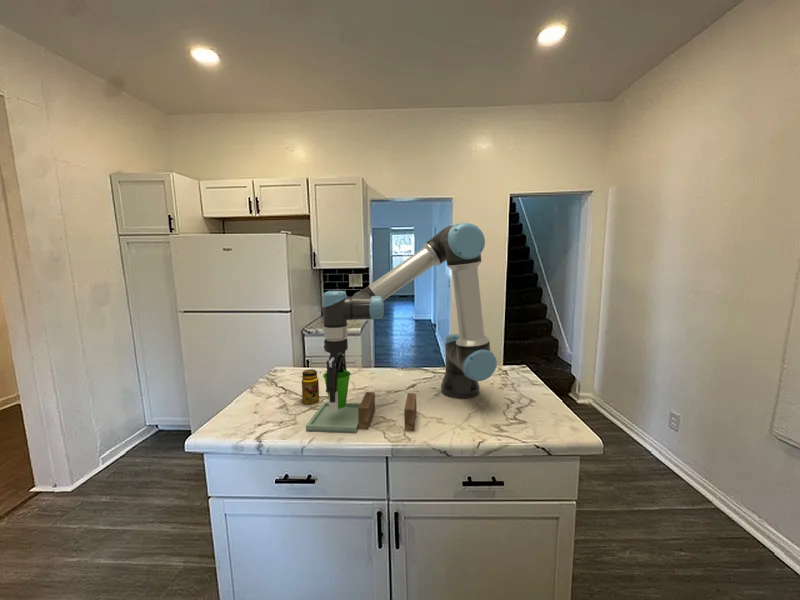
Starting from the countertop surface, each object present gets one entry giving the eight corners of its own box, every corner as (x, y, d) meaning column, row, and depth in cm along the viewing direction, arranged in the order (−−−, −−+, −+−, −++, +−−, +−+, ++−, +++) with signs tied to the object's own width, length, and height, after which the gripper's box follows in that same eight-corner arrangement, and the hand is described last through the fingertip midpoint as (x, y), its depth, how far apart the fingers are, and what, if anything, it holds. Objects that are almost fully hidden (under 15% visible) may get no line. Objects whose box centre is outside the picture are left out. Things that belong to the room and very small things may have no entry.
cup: (346, 412, 113) (345, 379, 111) (319, 410, 115) (318, 377, 113) (355, 401, 122) (354, 370, 120) (330, 399, 123) (329, 369, 122)
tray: (367, 408, 127) (367, 403, 127) (356, 433, 109) (356, 427, 109) (324, 406, 128) (323, 401, 128) (306, 431, 111) (305, 425, 110)
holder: (416, 412, 122) (416, 393, 122) (414, 431, 110) (414, 409, 109) (366, 411, 124) (366, 392, 123) (358, 429, 111) (358, 408, 111)
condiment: (314, 407, 128) (312, 375, 127) (293, 404, 131) (292, 373, 129) (324, 399, 135) (322, 368, 134) (304, 396, 138) (303, 367, 136)
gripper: (334, 331, 126) (336, 391, 129) (313, 346, 105) (316, 419, 108) (354, 331, 126) (356, 392, 128) (337, 347, 104) (340, 420, 107)
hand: (337, 404), depth 118 cm, fingers closed on cup, 9 cm apart
